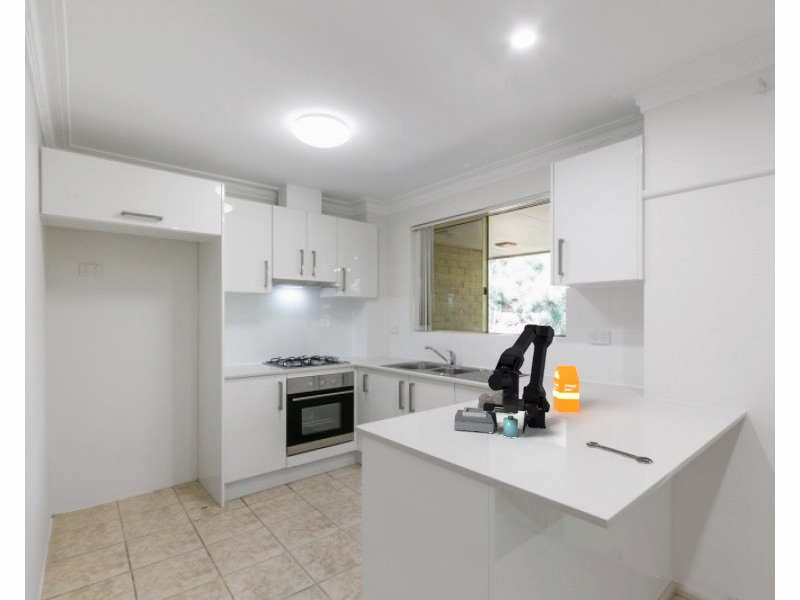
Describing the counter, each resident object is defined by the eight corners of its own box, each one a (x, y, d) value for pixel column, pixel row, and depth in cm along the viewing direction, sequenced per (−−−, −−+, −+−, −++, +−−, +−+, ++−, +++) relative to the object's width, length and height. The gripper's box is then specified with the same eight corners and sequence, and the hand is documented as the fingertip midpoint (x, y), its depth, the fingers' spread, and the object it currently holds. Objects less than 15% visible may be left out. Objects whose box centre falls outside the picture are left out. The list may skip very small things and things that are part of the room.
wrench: (655, 463, 123) (592, 444, 140) (654, 457, 123) (591, 439, 140) (646, 467, 120) (583, 448, 137) (646, 462, 120) (583, 443, 137)
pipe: (488, 430, 181) (519, 415, 177) (478, 418, 177) (509, 402, 173) (482, 404, 195) (510, 389, 191) (472, 392, 192) (500, 377, 188)
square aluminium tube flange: (493, 424, 161) (494, 407, 161) (493, 434, 149) (493, 415, 149) (457, 421, 164) (458, 405, 164) (454, 430, 152) (454, 412, 152)
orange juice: (579, 412, 182) (579, 367, 183) (559, 412, 182) (559, 366, 183) (571, 408, 190) (572, 364, 190) (552, 408, 190) (553, 364, 191)
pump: (517, 434, 148) (517, 415, 148) (518, 438, 144) (518, 418, 144) (503, 433, 150) (503, 414, 150) (503, 437, 145) (503, 417, 145)
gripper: (483, 389, 141) (482, 435, 141) (540, 393, 137) (539, 441, 136) (484, 384, 152) (483, 427, 151) (537, 388, 148) (536, 432, 147)
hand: (509, 432), depth 146 cm, fingers open, 9 cm apart
